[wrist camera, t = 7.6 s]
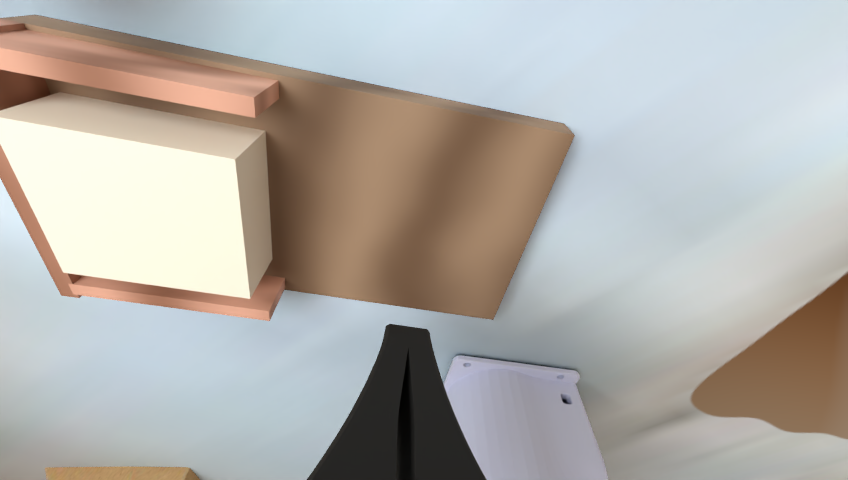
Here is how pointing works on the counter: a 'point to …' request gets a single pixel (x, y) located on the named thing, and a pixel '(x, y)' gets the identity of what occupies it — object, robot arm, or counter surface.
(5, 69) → the open-sided wooden box
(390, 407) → the robot arm
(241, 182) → the carton
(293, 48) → the counter surface
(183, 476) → the sandwich container
